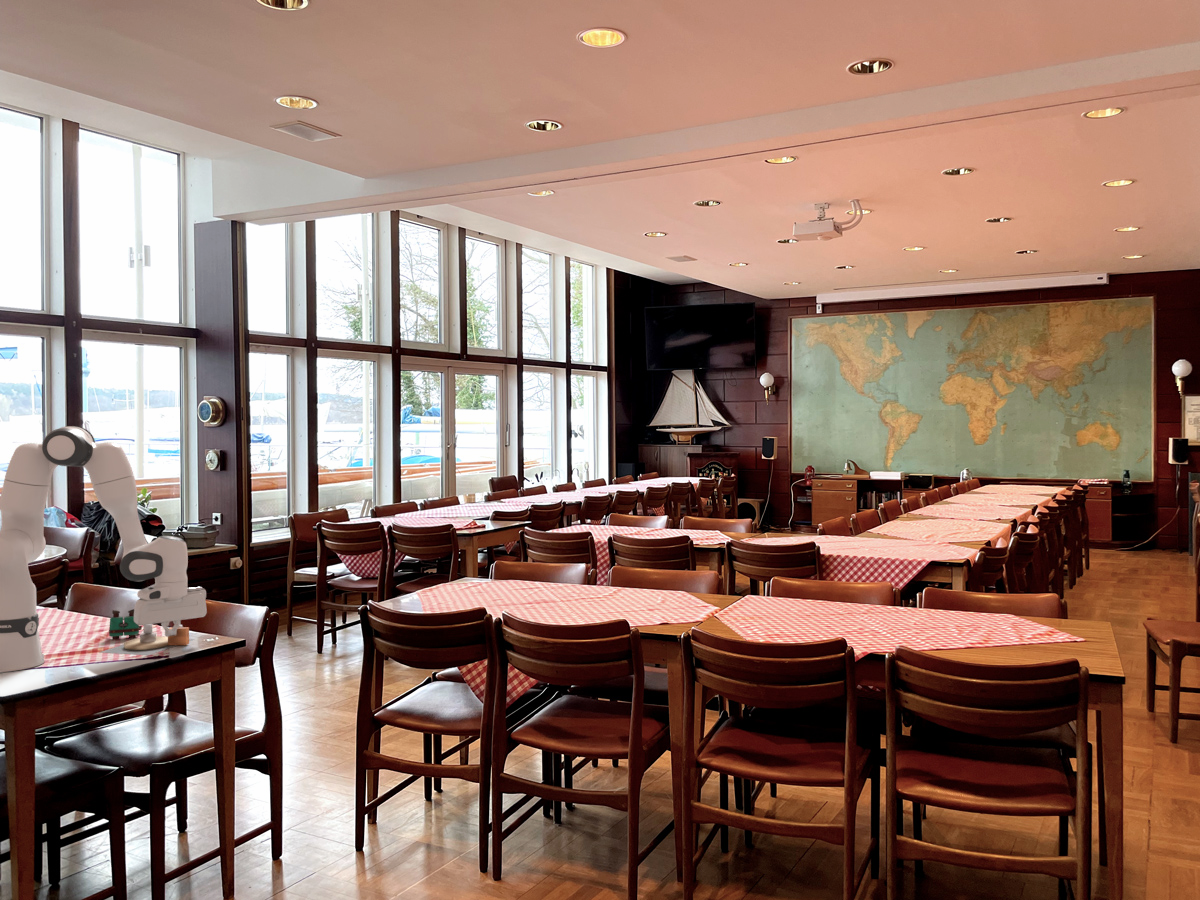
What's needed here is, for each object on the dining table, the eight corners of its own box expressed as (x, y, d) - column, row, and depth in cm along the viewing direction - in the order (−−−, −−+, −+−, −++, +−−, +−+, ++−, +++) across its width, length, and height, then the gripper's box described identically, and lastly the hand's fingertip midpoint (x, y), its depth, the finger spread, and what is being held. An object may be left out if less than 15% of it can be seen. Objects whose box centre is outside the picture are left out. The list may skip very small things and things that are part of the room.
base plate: (99, 657, 262) (98, 630, 262) (147, 641, 282) (147, 616, 281) (148, 660, 258) (148, 633, 258) (194, 644, 278) (194, 618, 278)
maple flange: (115, 650, 264) (114, 633, 263) (137, 639, 276) (137, 623, 276) (177, 649, 264) (177, 632, 263) (197, 639, 277) (197, 623, 276)
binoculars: (142, 606, 289) (138, 609, 280) (142, 639, 288) (138, 642, 279) (111, 608, 286) (106, 611, 276) (111, 641, 285) (106, 645, 276)
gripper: (201, 584, 277) (201, 628, 277) (131, 592, 262) (131, 639, 262) (210, 587, 273) (210, 632, 273) (139, 595, 258) (139, 642, 258)
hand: (170, 635), depth 267 cm, fingers closed
